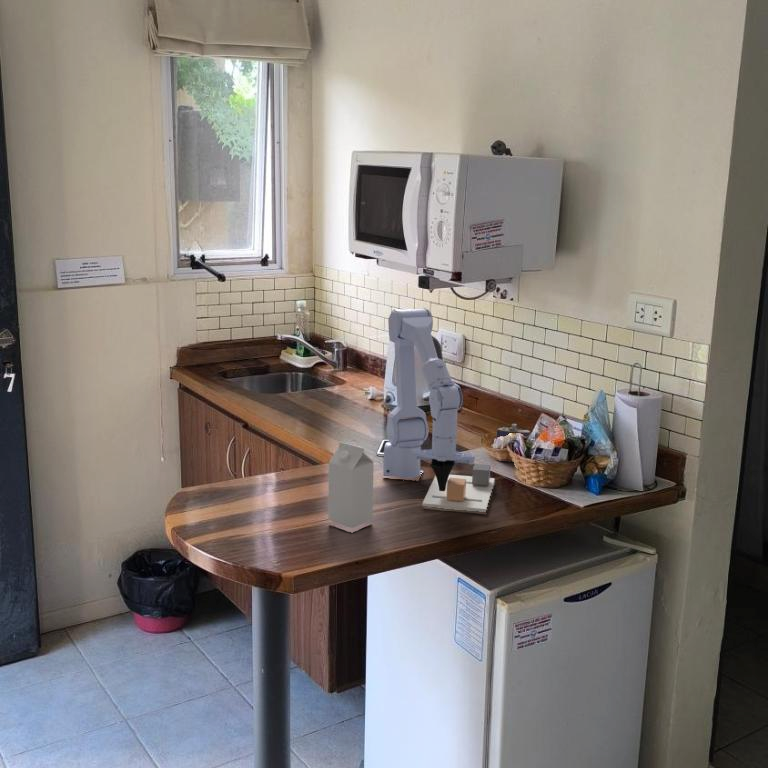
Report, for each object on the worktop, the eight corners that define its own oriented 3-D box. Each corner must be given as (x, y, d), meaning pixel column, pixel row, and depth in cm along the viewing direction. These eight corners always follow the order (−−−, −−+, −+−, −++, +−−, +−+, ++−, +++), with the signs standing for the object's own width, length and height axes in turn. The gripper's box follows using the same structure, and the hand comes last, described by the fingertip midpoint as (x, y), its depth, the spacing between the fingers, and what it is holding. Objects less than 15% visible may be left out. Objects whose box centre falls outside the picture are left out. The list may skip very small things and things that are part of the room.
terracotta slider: (446, 499, 218) (447, 483, 217) (449, 493, 223) (449, 477, 222) (463, 501, 218) (463, 485, 217) (465, 494, 222) (466, 479, 221)
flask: (529, 460, 254) (531, 423, 251) (528, 464, 251) (530, 426, 249) (495, 458, 256) (497, 421, 253) (494, 461, 253) (496, 424, 251)
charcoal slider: (472, 484, 229) (472, 469, 228) (474, 478, 233) (474, 463, 232) (488, 485, 228) (488, 470, 227) (489, 480, 232) (490, 465, 231)
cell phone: (375, 457, 256) (375, 454, 255) (382, 441, 270) (382, 438, 270) (403, 458, 255) (403, 455, 254) (408, 443, 269) (408, 440, 269)
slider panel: (422, 509, 217) (422, 502, 217) (436, 478, 238) (436, 473, 238) (485, 515, 214) (486, 508, 214) (494, 483, 235) (494, 478, 235)
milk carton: (349, 517, 211) (349, 438, 207) (372, 525, 207) (374, 444, 203) (328, 526, 206) (328, 445, 202) (351, 534, 202) (352, 451, 197)
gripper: (411, 437, 215) (409, 492, 218) (472, 442, 212) (470, 498, 215) (416, 429, 221) (414, 482, 225) (476, 434, 219) (474, 488, 222)
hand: (442, 489), depth 220 cm, fingers closed
